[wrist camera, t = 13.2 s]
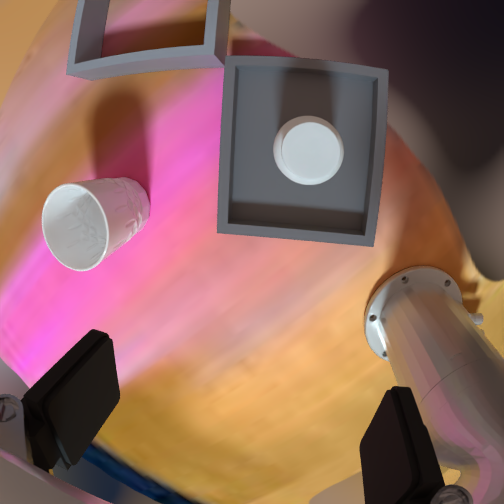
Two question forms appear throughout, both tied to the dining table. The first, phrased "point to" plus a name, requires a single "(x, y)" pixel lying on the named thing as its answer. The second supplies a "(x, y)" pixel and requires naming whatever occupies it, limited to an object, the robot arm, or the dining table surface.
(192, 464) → the dining table surface
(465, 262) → the dining table surface
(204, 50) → the gray square frame
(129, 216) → the white cup
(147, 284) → the dining table surface
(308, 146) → the supplement bottle
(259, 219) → the tray
